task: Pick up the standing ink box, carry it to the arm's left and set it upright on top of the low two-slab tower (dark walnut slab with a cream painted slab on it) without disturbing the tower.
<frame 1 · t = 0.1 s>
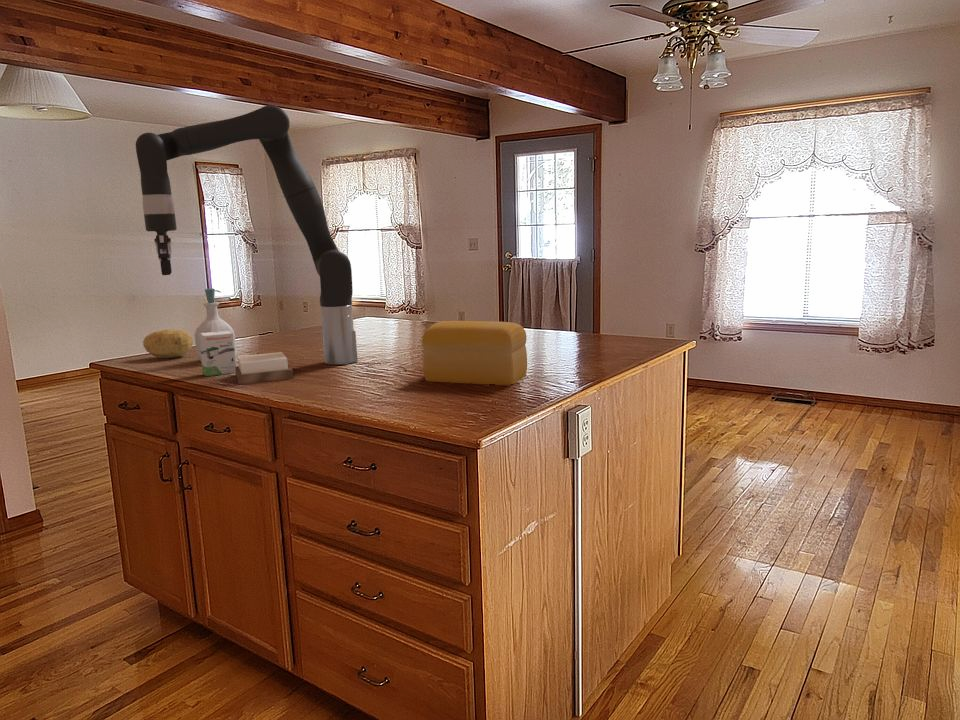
hand: (167, 274, 185), 29 cm above the countertop, fingers open, 8 cm apart
cream slab: (263, 368, 190), point 2 cm above the countertop
soap bottle: (217, 361, 217), on the countertop
walnut slab: (264, 378, 190), on the countertop
bread: (476, 379, 179), on the countertop
potato: (170, 358, 225), on the countertop
ink box: (220, 373, 197), on the countertop
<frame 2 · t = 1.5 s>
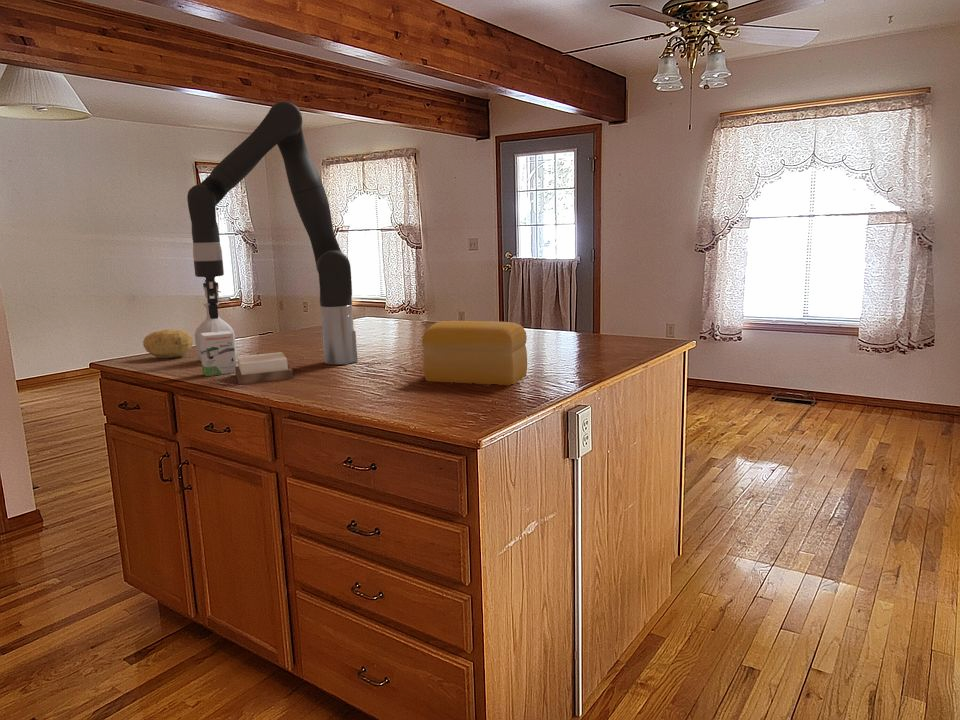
hand: (213, 317, 194), 16 cm above the countertop, fingers open, 8 cm apart
cream slab: (262, 368, 190), point 2 cm above the countertop, touching walnut slab
walnut slab: (264, 379, 190), on the countertop, touching cream slab
everything else where it was.
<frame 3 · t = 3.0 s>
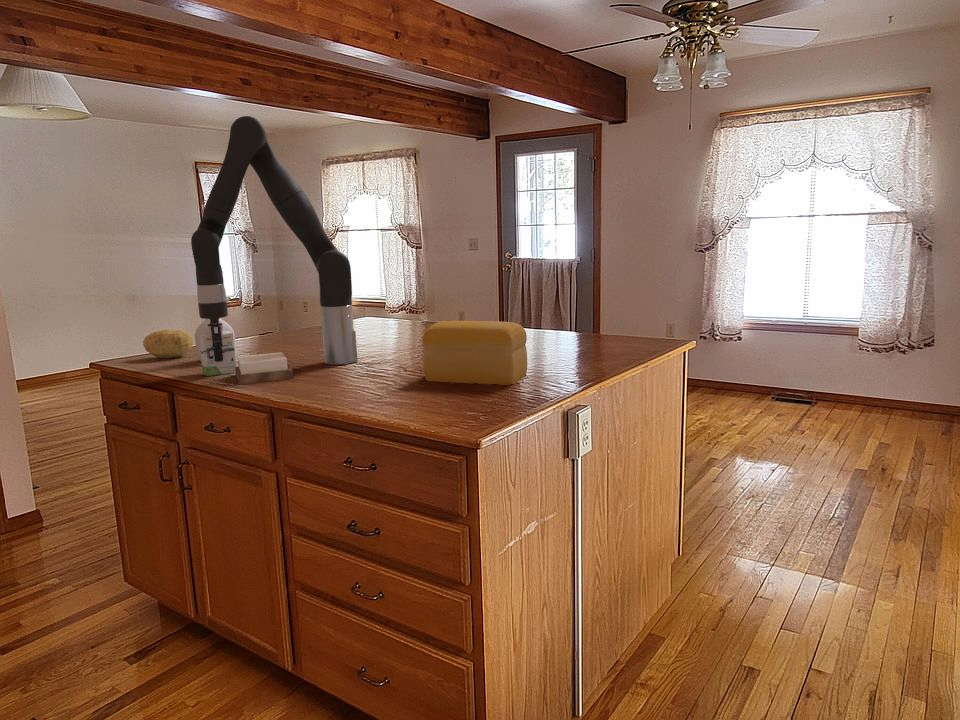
hand: (218, 359, 196), 4 cm above the countertop, fingers closed on ink box, 5 cm apart
cream slab: (262, 368, 190), point 2 cm above the countertop
walnut slab: (264, 379, 190), on the countertop
ink box: (220, 373, 197), on the countertop, touching gripper
everything else where it was.
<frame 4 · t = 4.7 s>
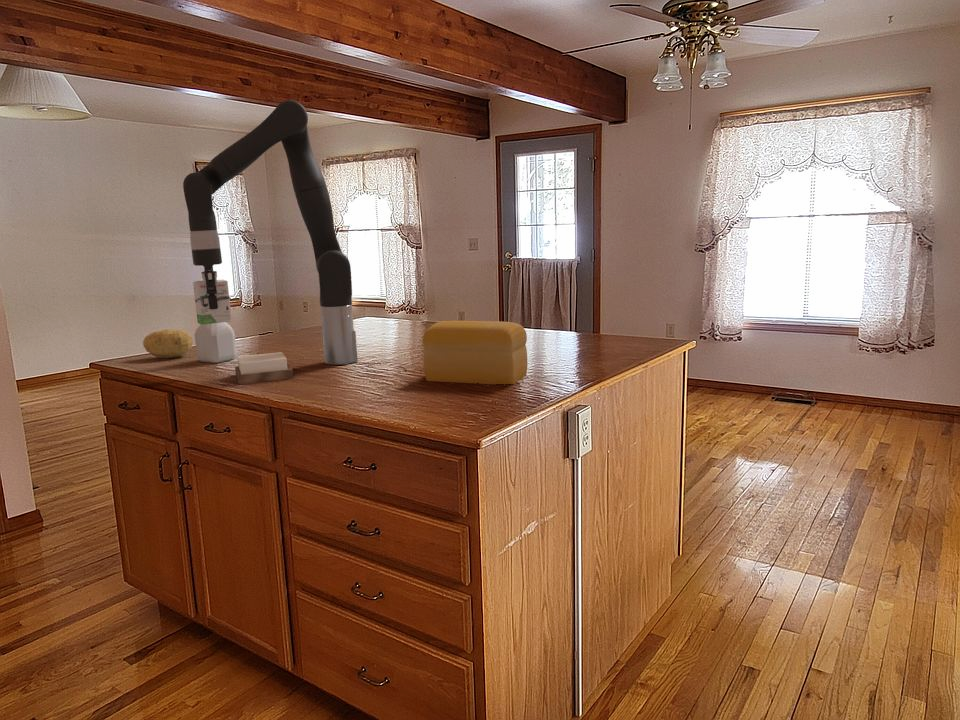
hand: (213, 307, 193), 19 cm above the countertop, fingers closed on ink box, 5 cm apart
cream slab: (262, 368, 190), point 2 cm above the countertop, touching walnut slab
walnut slab: (264, 378, 190), on the countertop, touching cream slab
ink box: (215, 323, 194), point 14 cm above the countertop, touching gripper
everything else where it was.
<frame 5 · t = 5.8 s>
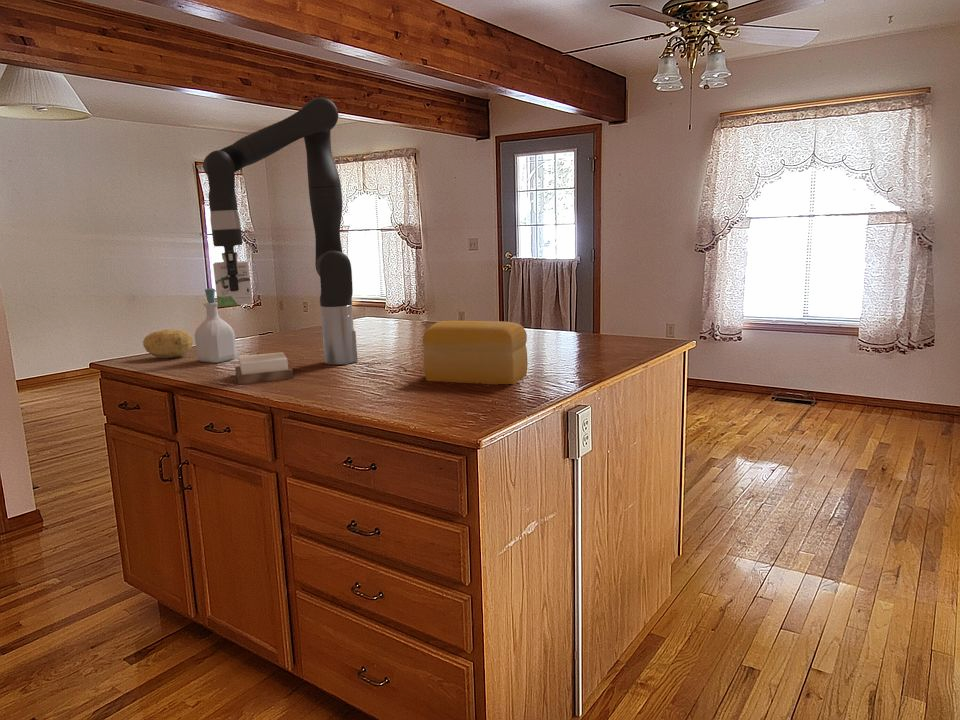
hand: (234, 290, 189), 24 cm above the countertop, fingers closed on ink box, 5 cm apart
cream slab: (263, 368, 190), point 2 cm above the countertop
walnut slab: (264, 379, 190), on the countertop
ink box: (235, 305, 190), point 20 cm above the countertop, touching gripper
everything else where it was.
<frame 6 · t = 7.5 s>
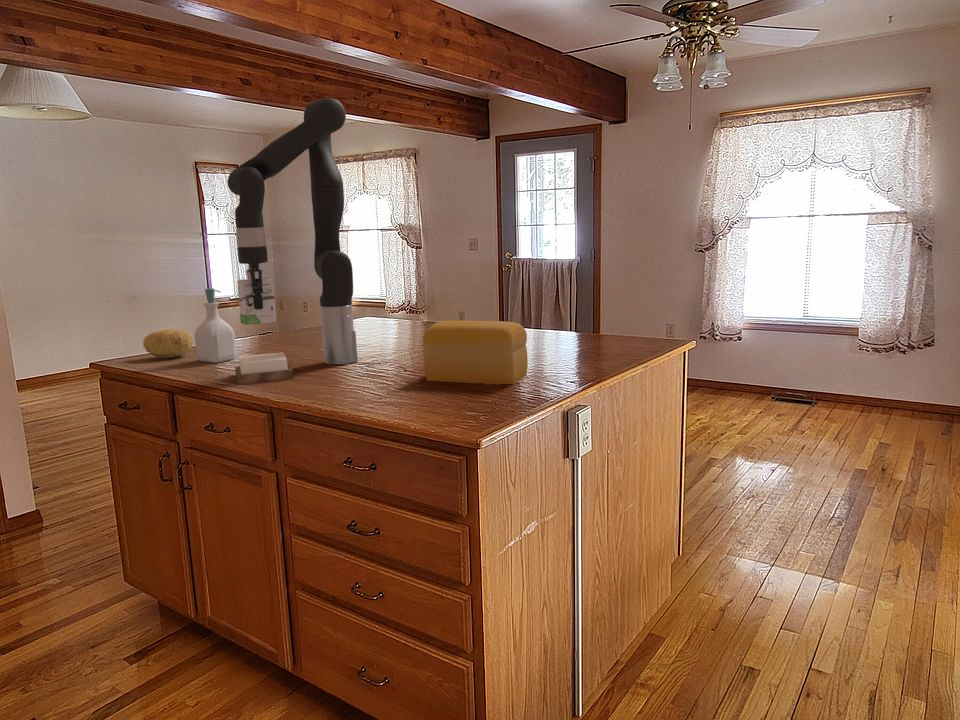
hand: (257, 307, 187), 19 cm above the countertop, fingers closed on ink box, 5 cm apart
cream slab: (263, 368, 190), point 2 cm above the countertop, touching walnut slab
walnut slab: (264, 378, 190), on the countertop, touching cream slab
ink box: (259, 323, 187), point 15 cm above the countertop, touching gripper
everything else where it was.
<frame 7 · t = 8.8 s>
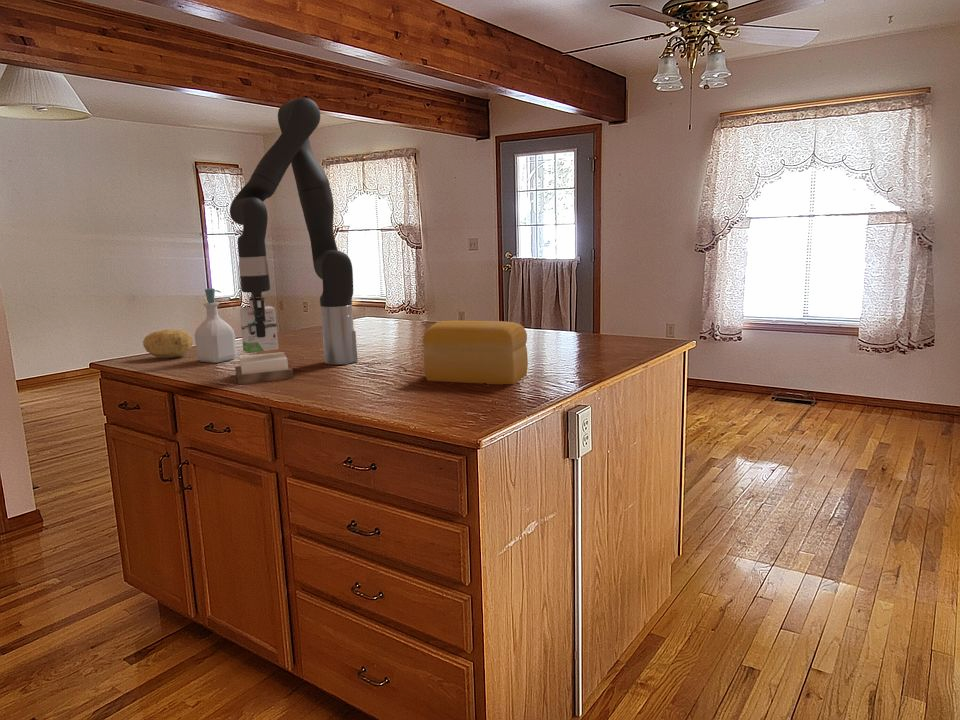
hand: (260, 335, 188), 11 cm above the countertop, fingers closed on ink box, 5 cm apart
ink box: (261, 350, 189), point 7 cm above the countertop, touching gripper
everything else where it was.
when the fingers open (11 cm above the countertop, at t = 9.3 s): ink box drops 2 cm, resting on cream slab.
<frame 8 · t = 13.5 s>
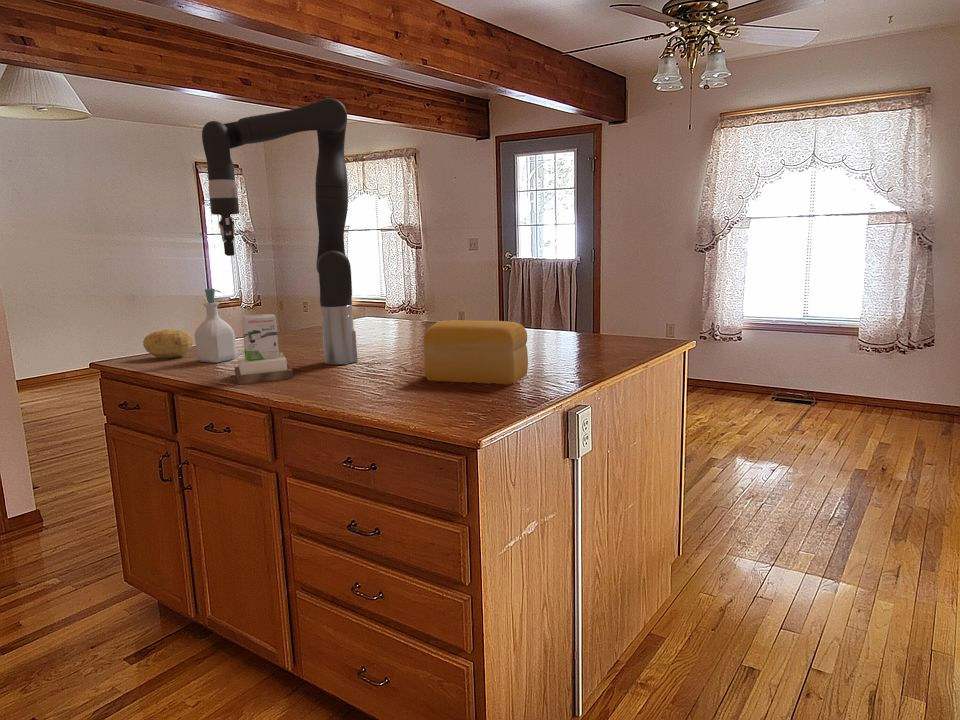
hand: (229, 255, 196), 33 cm above the countertop, fingers open, 8 cm apart
cream slab: (262, 368, 190), point 2 cm above the countertop, touching ink box, walnut slab
ink box: (262, 358, 189), point 5 cm above the countertop, touching cream slab
at the end: ink box inside the target area on the cream slab (0.2 cm from its centre), point 2.8 cm above the cream slab's base; ink box tilted 1°; cream slab moved 0.8 cm from its start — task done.
